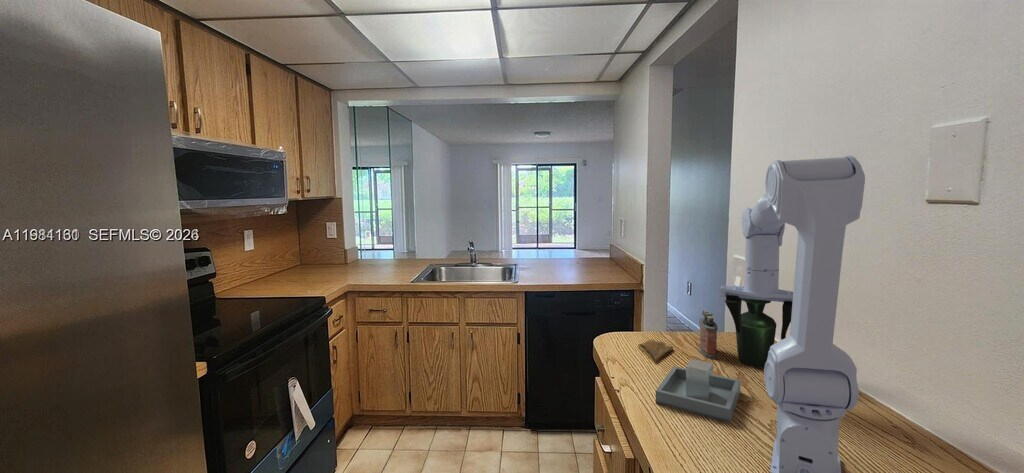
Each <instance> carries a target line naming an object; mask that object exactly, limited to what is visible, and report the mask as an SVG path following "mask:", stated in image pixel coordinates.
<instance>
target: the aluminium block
mask: <svg viewBox="0 0 1024 473" xmlns="http://www.w3.org/2000/svg"><path fill="white" fill-rule="evenodd" d="M685 369H686V396H688V397H692V398H696V399H700V400H704V401H708V402H709V400H710V397H711V395H712V393H713V375H714V371H713V370H714V363H713V362H708V361H703V360H698V359H692V358H691V359H690V360H689V361H688V363H687V364H686V365H685Z"/></svg>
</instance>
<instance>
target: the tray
mask: <svg viewBox="0 0 1024 473" xmlns="http://www.w3.org/2000/svg"><path fill="white" fill-rule="evenodd" d="M741 383H742V382H741V380H740V379H736V378H733V377H732V378H731V377H728V376H723V375H722V376H721V375H717V374H713V393H712V395H711V397H710V400H709V402H708V401H704V400H700V399H696V398H692V397H688V396H686V367H685V368H684V367H680V366H673V367H672V368H671V370H670V371H669V372H668V373H667V375H666V376H665V377H664V379H663V380H662V382H661V383H660V384H659V386H658V387H657V388H656V390H655V404H658V405H661V406H665V407H668V408H673V409H676V410H679V411H684V412H688V413H691V414H695V415H698V416H702V417H705V418H708V419H713V420H716V421H720V422H724V423H728V424H730V423H731V420H732V417H733V415H734V412H735V408H736V406H737V403H738V401H739V397H740V394H741Z"/></svg>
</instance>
